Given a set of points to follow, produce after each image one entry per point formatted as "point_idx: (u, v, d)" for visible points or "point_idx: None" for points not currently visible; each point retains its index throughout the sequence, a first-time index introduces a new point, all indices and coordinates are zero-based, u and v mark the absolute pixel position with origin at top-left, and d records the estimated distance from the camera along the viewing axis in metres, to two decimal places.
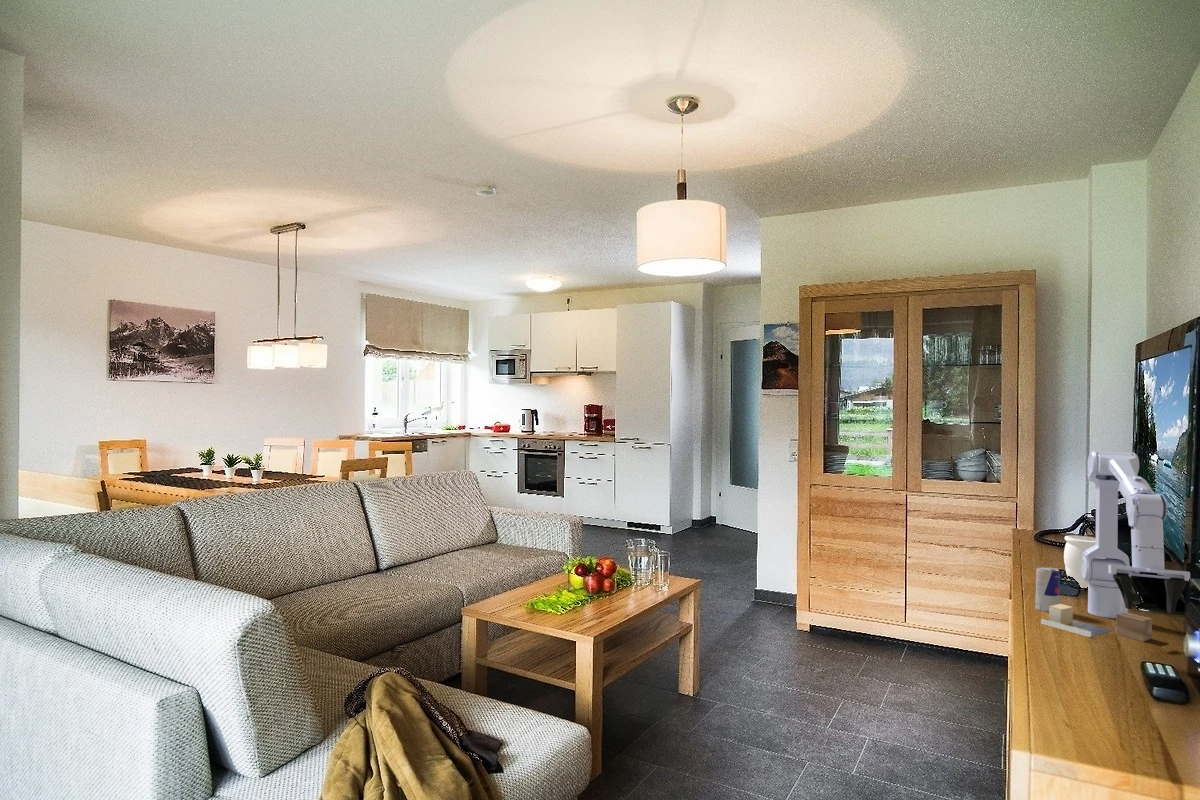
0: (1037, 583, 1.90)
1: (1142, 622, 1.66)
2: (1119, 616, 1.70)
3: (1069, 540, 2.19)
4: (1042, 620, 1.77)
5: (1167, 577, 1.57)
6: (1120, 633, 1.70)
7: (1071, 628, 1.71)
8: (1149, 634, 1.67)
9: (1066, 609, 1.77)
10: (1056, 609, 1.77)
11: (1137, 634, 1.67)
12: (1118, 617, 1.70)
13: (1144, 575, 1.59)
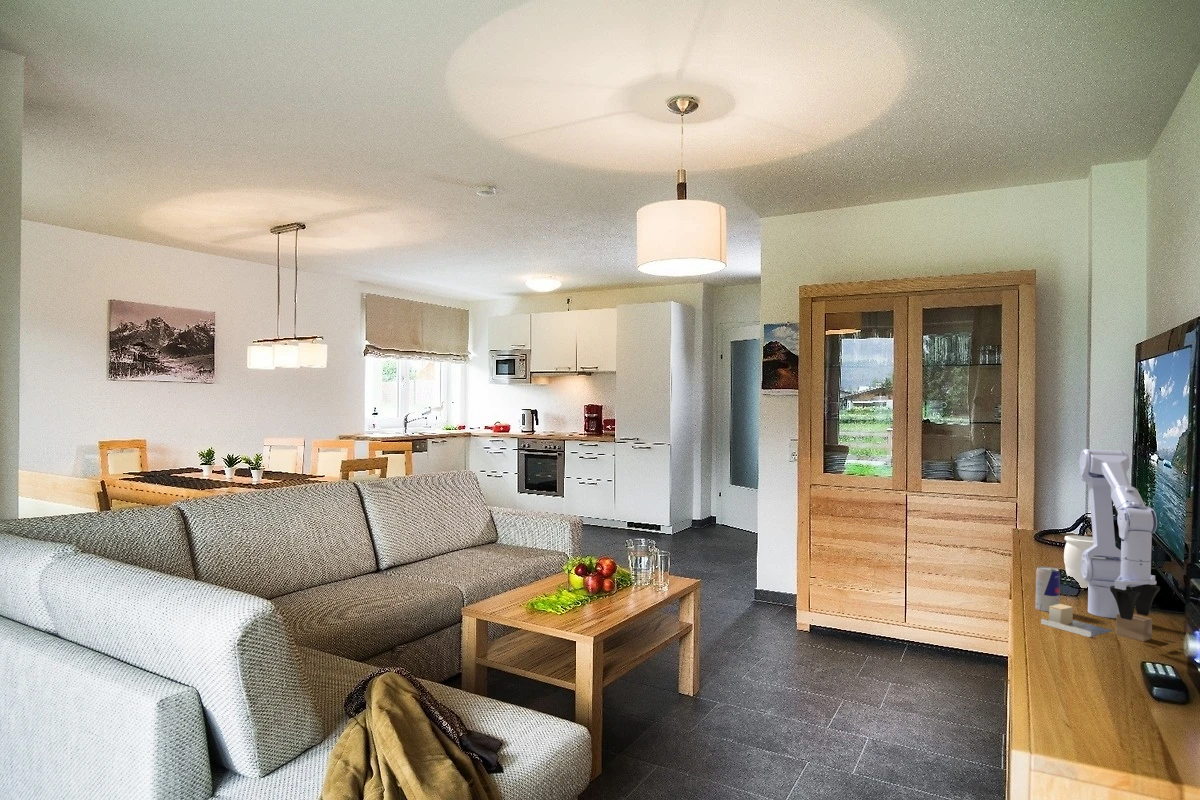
0: (1037, 583, 1.90)
1: (1142, 622, 1.66)
2: (1119, 616, 1.70)
3: (1069, 540, 2.19)
4: (1042, 620, 1.77)
5: None
6: (1120, 633, 1.70)
7: (1071, 628, 1.71)
8: (1149, 634, 1.67)
9: (1066, 609, 1.77)
10: (1056, 609, 1.77)
11: (1137, 634, 1.67)
12: (1118, 617, 1.70)
13: (1134, 585, 1.68)
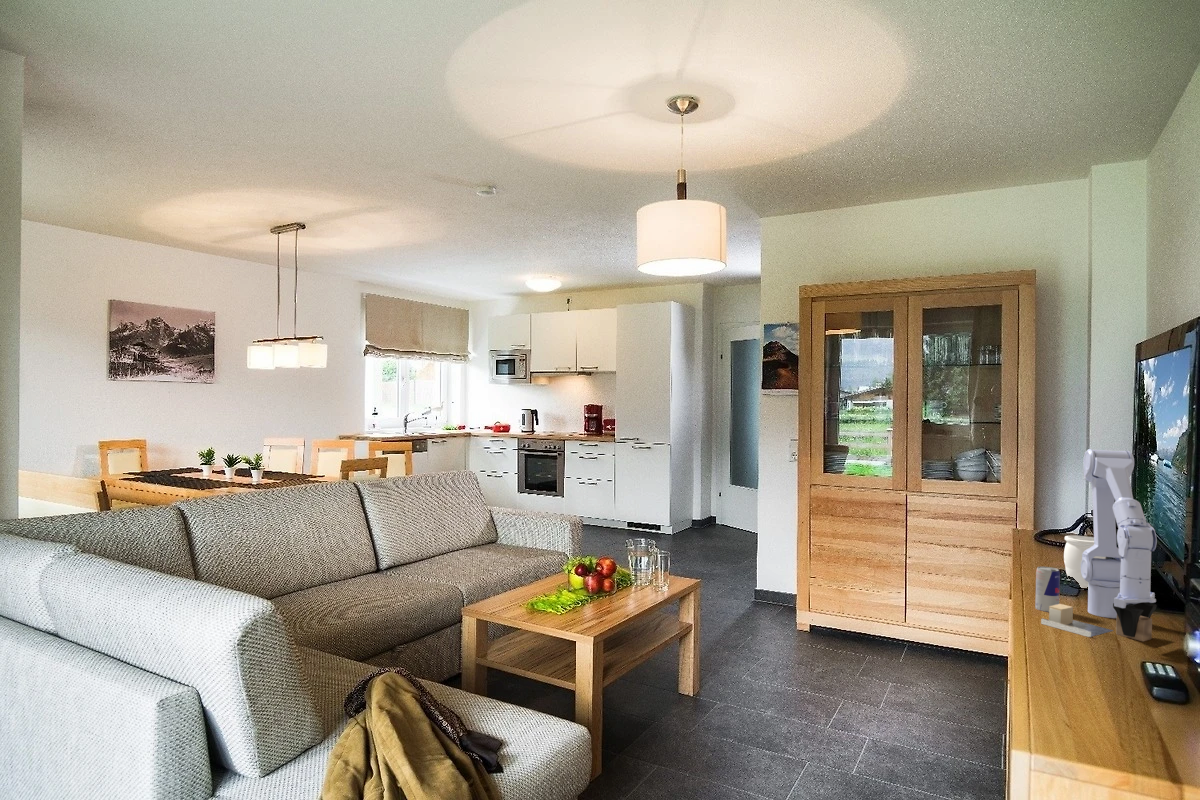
0: (1037, 583, 1.90)
1: (1142, 622, 1.66)
2: None
3: (1069, 540, 2.19)
4: (1042, 620, 1.77)
5: None
6: (1120, 633, 1.70)
7: (1071, 628, 1.71)
8: (1149, 633, 1.67)
9: (1066, 609, 1.77)
10: (1056, 609, 1.77)
11: (1137, 633, 1.67)
12: (1118, 617, 1.70)
13: (1134, 603, 1.68)
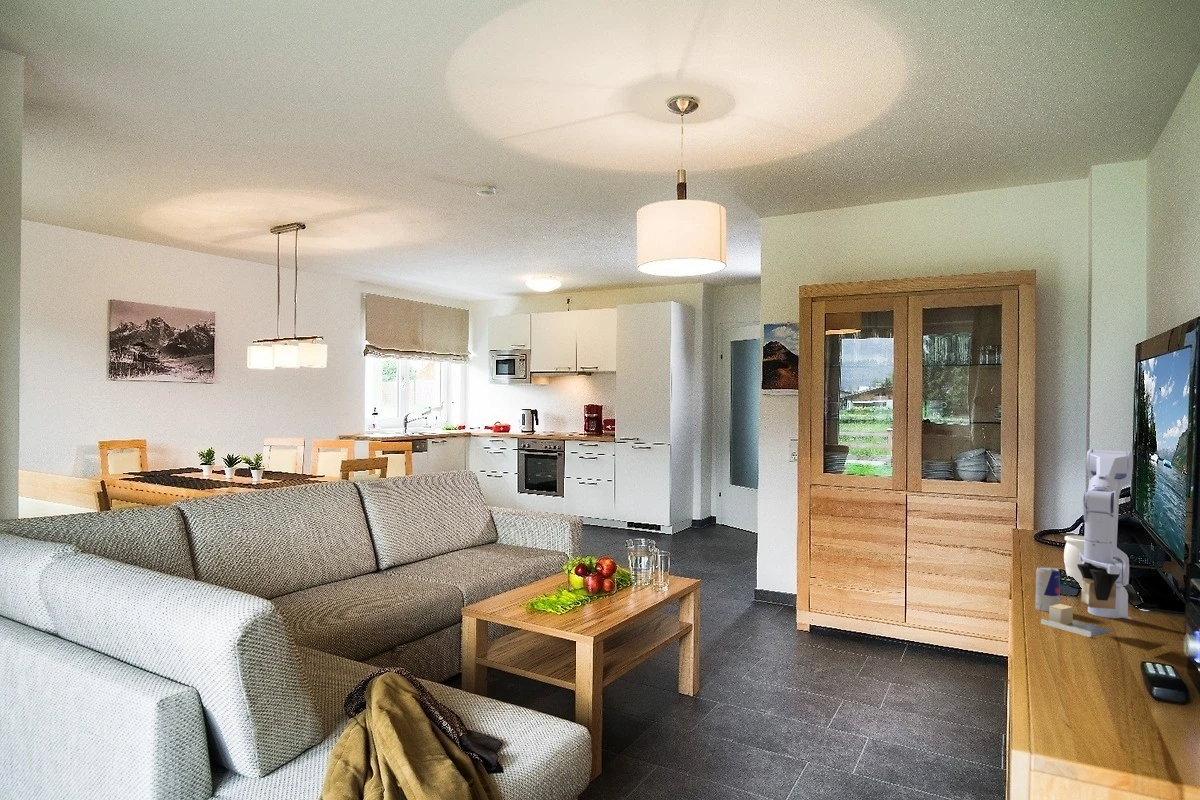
0: (1037, 583, 1.90)
1: (1115, 585, 1.70)
2: (1093, 583, 1.70)
3: (1069, 540, 2.19)
4: (1042, 620, 1.77)
5: None
6: (1093, 600, 1.70)
7: (1071, 628, 1.71)
8: None
9: (1066, 609, 1.77)
10: (1056, 609, 1.77)
11: (1110, 597, 1.70)
12: (1092, 584, 1.70)
13: None
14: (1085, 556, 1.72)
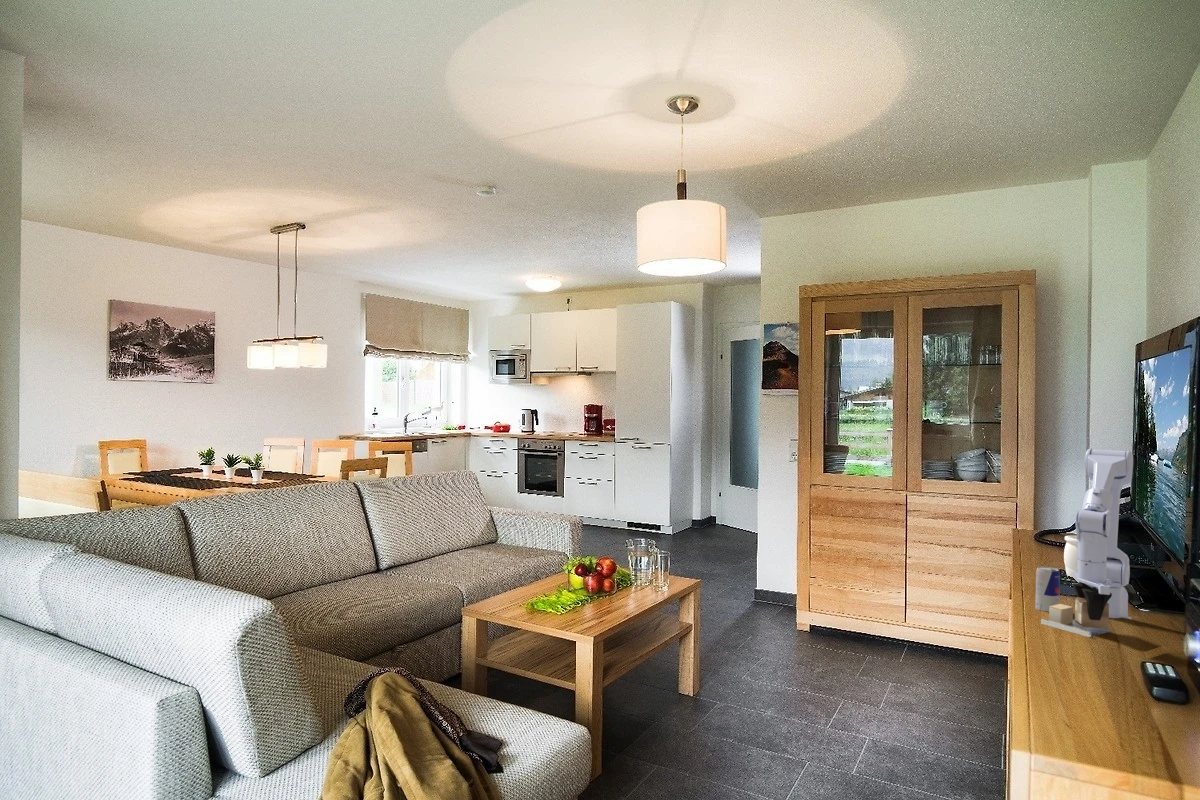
0: (1037, 583, 1.90)
1: (1108, 605, 1.70)
2: (1085, 603, 1.71)
3: (1069, 540, 2.19)
4: (1042, 620, 1.77)
5: None
6: (1086, 619, 1.71)
7: (1071, 628, 1.71)
8: None
9: (1066, 609, 1.77)
10: (1056, 609, 1.77)
11: (1102, 617, 1.70)
12: (1084, 604, 1.71)
13: None
14: (1078, 575, 1.73)
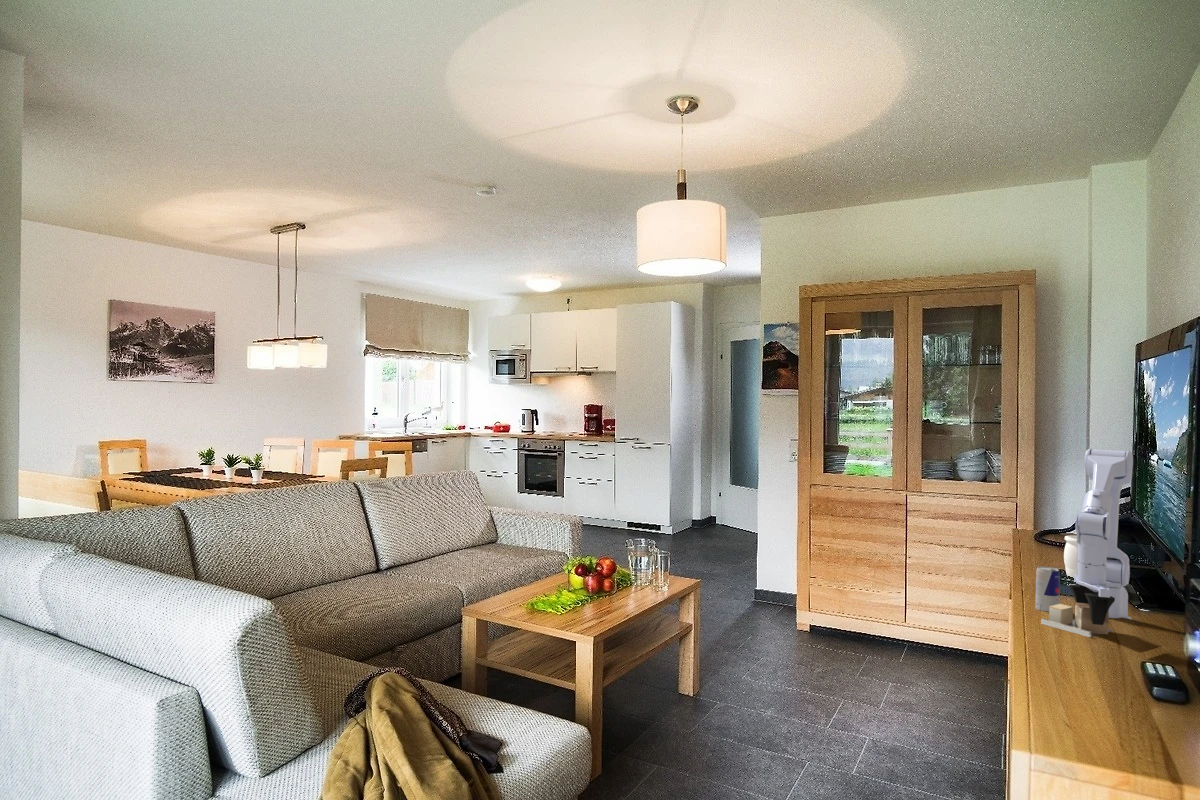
0: (1037, 583, 1.90)
1: None
2: (1085, 608, 1.71)
3: (1069, 540, 2.19)
4: (1042, 620, 1.77)
5: None
6: (1086, 625, 1.71)
7: (1071, 628, 1.71)
8: None
9: (1066, 609, 1.77)
10: (1056, 609, 1.77)
11: None
12: (1084, 609, 1.71)
13: None
14: (1078, 578, 1.73)
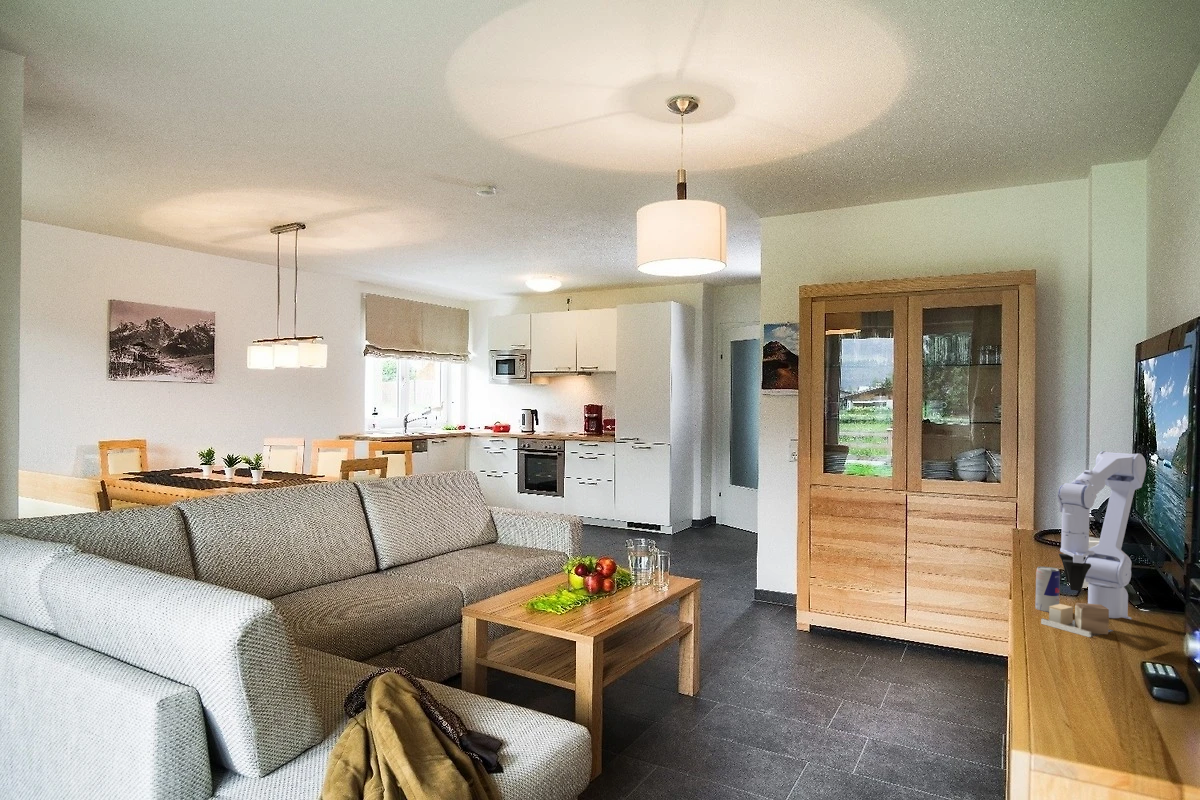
0: (1037, 583, 1.90)
1: (1107, 610, 1.70)
2: (1085, 608, 1.71)
3: None
4: (1042, 620, 1.77)
5: None
6: (1086, 625, 1.71)
7: (1071, 628, 1.71)
8: None
9: (1066, 609, 1.77)
10: (1056, 609, 1.77)
11: (1102, 623, 1.70)
12: (1084, 609, 1.71)
13: None
14: (1061, 546, 1.79)
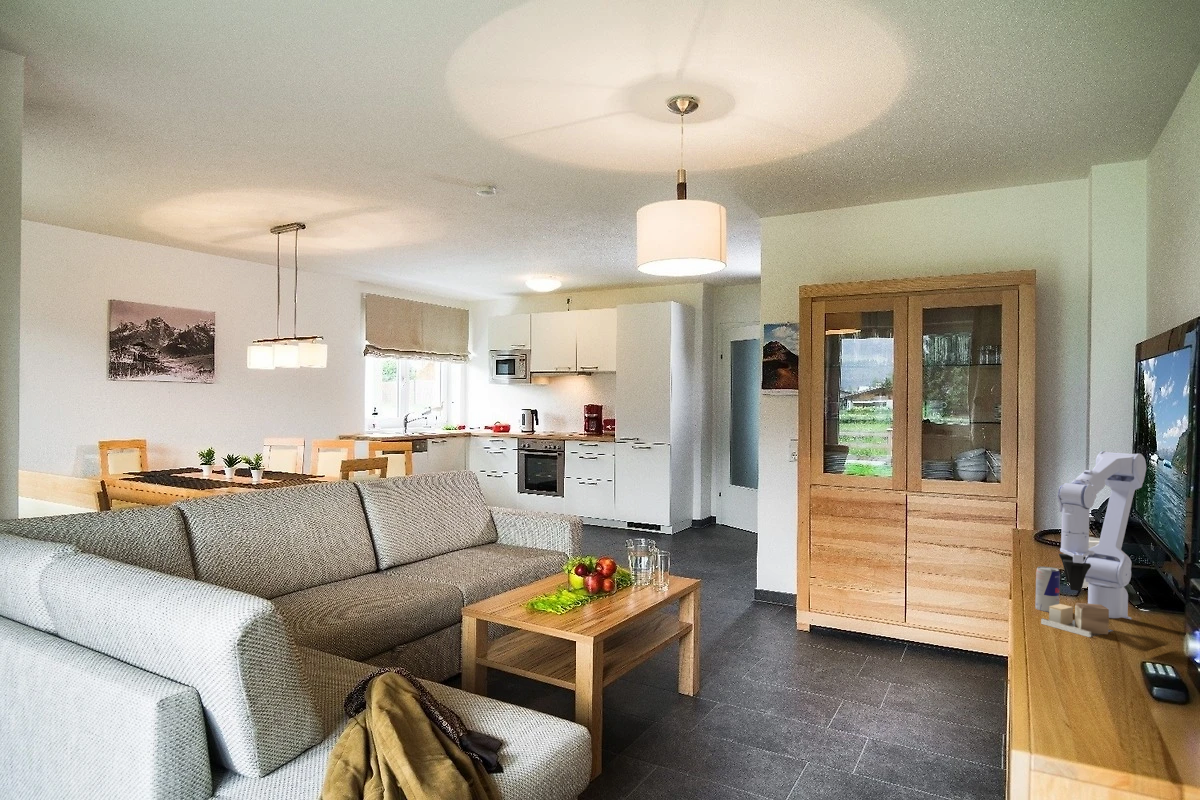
0: (1037, 583, 1.90)
1: (1107, 610, 1.70)
2: (1085, 608, 1.71)
3: None
4: (1042, 620, 1.77)
5: None
6: (1086, 625, 1.71)
7: (1071, 628, 1.71)
8: None
9: (1066, 609, 1.77)
10: (1056, 609, 1.77)
11: (1102, 623, 1.70)
12: (1084, 609, 1.71)
13: None
14: (1061, 546, 1.79)
